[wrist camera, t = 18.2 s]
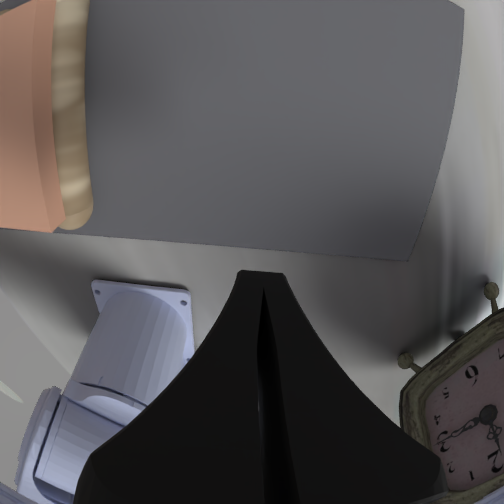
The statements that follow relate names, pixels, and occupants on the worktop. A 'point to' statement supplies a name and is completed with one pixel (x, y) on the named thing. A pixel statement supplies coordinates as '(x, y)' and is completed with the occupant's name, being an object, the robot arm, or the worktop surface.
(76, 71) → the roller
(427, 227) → the worktop surface
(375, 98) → the mat
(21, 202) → the slab
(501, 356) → the tabletop clock
